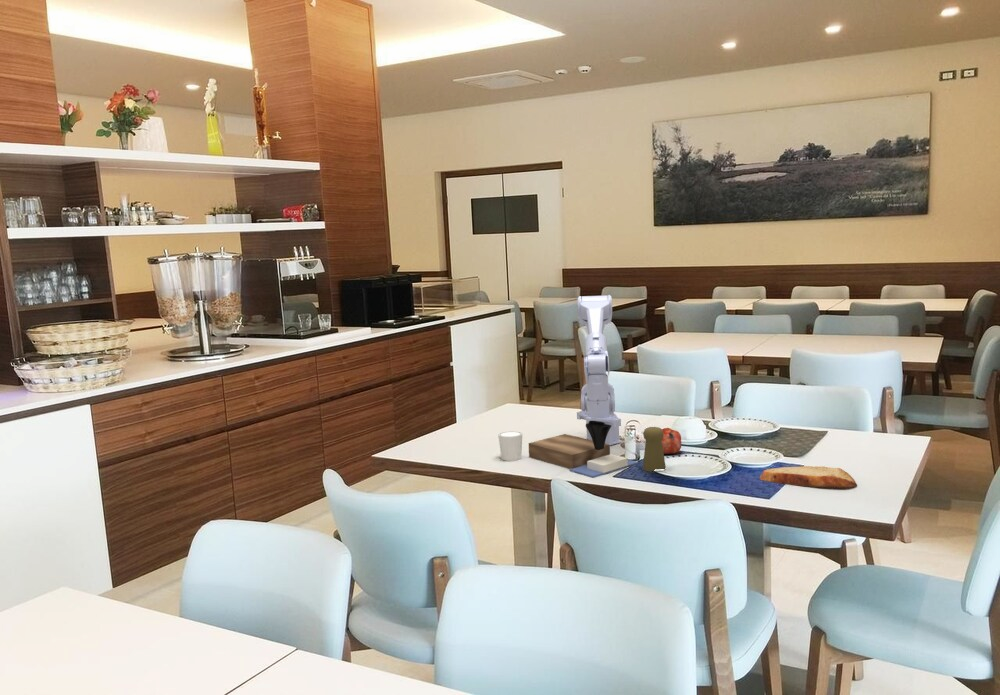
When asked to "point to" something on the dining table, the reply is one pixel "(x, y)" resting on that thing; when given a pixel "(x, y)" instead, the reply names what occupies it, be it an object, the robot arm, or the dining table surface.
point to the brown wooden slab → (566, 451)
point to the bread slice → (810, 477)
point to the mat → (593, 473)
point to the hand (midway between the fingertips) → (599, 449)
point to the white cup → (510, 445)
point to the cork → (653, 449)
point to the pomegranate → (671, 441)
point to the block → (607, 463)
